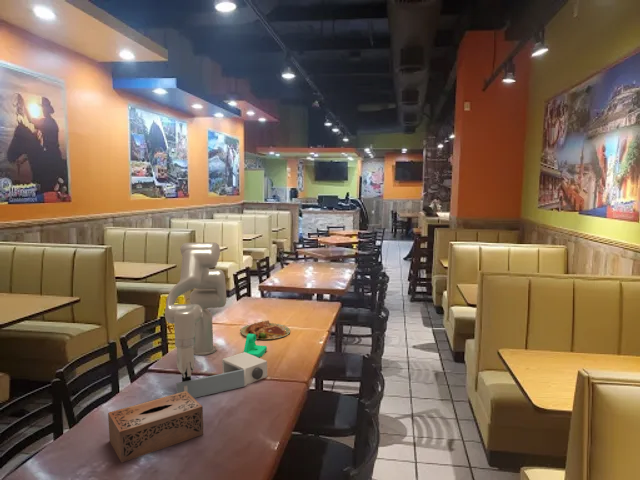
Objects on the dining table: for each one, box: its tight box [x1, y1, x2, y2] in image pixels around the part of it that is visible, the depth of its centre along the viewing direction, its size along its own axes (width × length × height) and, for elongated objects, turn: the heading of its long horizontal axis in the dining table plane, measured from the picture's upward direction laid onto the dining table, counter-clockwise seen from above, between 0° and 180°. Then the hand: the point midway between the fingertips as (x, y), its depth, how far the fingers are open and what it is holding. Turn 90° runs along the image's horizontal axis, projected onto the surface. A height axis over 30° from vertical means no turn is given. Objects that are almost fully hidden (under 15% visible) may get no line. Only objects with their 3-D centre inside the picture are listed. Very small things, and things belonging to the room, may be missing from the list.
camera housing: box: [221, 351, 268, 386], centre depth 197 cm, size 18×12×7 cm
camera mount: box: [243, 334, 268, 358], centre depth 222 cm, size 12×8×10 cm, turn 165°
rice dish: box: [239, 320, 291, 340], centre depth 256 cm, size 28×28×5 cm
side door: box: [175, 369, 247, 399], centre depth 179 cm, size 28×2×7 cm, turn 120°
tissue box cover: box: [107, 391, 204, 463], centre depth 148 cm, size 26×14×10 cm, turn 127°
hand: (186, 386), depth 178 cm, fingers closed
